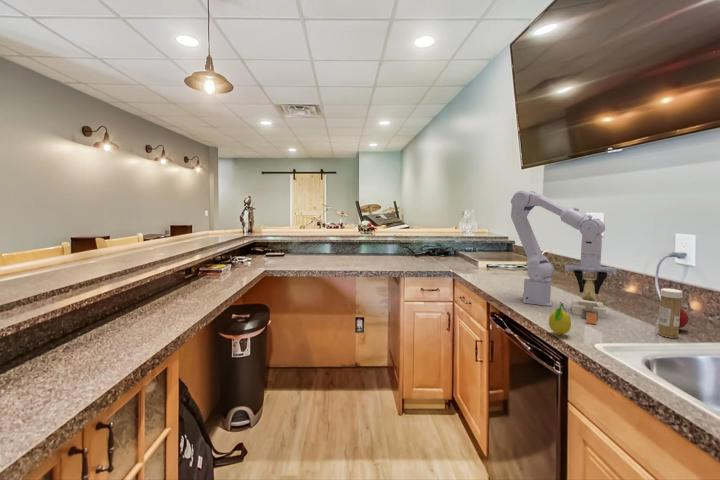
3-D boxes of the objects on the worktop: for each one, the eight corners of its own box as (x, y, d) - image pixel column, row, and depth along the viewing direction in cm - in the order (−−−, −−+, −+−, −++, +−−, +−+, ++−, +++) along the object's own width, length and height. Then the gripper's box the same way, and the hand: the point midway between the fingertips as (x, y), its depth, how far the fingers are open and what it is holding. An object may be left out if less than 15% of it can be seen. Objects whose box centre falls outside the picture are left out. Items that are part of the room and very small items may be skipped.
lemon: (562, 330, 100) (563, 298, 99) (577, 338, 94) (579, 303, 93) (541, 331, 99) (543, 299, 98) (555, 339, 93) (557, 304, 92)
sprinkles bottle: (682, 339, 92) (686, 292, 91) (662, 337, 93) (666, 291, 92) (672, 333, 96) (676, 288, 95) (653, 331, 98) (657, 287, 96)
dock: (572, 314, 114) (573, 305, 114) (571, 307, 122) (572, 299, 122) (605, 318, 110) (605, 309, 110) (601, 311, 118) (602, 302, 117)
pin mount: (581, 318, 110) (582, 310, 110) (581, 316, 112) (581, 308, 111) (597, 320, 108) (598, 312, 108) (597, 318, 109) (597, 310, 109)
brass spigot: (581, 299, 115) (582, 280, 114) (581, 297, 118) (582, 277, 117) (595, 301, 113) (596, 281, 112) (595, 298, 116) (596, 279, 115)
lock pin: (586, 323, 105) (586, 313, 105) (584, 316, 111) (584, 308, 111) (596, 324, 104) (596, 315, 104) (593, 317, 110) (594, 309, 110)
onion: (690, 334, 95) (692, 307, 95) (663, 330, 98) (665, 304, 98) (684, 328, 100) (686, 302, 100) (658, 324, 103) (661, 299, 103)
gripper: (566, 254, 114) (564, 292, 115) (619, 256, 107) (616, 298, 108) (565, 251, 120) (564, 288, 121) (615, 254, 113) (613, 293, 114)
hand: (588, 292), depth 115 cm, fingers closed on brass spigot, 4 cm apart
